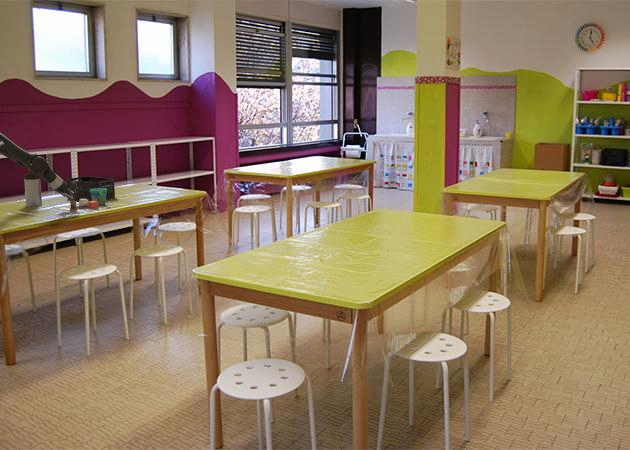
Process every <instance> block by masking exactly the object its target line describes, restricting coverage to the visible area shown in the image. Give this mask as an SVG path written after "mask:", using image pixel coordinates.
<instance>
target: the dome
mask: <svg viewBox="0 0 630 450" xmlns="http://www.w3.org/2000/svg"><path fill="white" fill-rule="evenodd" d="M88 202H89V201H88V200H87V199H80V201H79V202H78V206H87V205H88Z"/></svg>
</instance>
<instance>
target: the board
mask: <svg viewBox="0 0 630 450" xmlns="http://www.w3.org/2000/svg"><path fill="white" fill-rule="evenodd" d="M76 206H77V208H78V210H70V208H71V207H59V208H58V209H59V210H66V211H73V212H74V211H75V212H77V213H79V214H80V213H82V212H84V213H85V212H86V213H87V212H88V210H87V211H85V210H82V209H91V210H90V211H91V212H92V211H93V210H95V211H97V210H99V205H98V202H97V201H88V205H87V206H79V205H76Z"/></svg>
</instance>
